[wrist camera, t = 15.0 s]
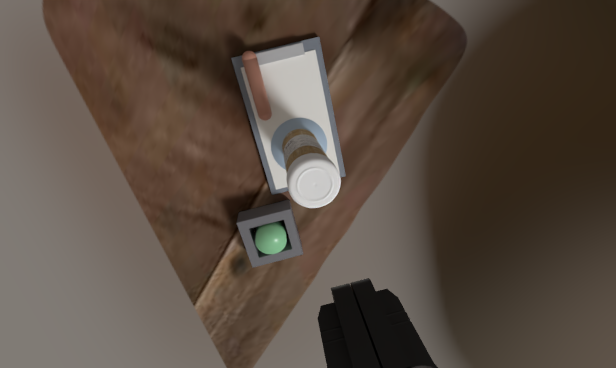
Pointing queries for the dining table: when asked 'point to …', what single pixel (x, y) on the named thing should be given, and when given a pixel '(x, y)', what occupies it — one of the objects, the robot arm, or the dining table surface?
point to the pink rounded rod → (256, 85)
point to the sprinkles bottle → (309, 170)
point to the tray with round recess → (291, 105)
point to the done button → (271, 237)
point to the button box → (267, 216)
